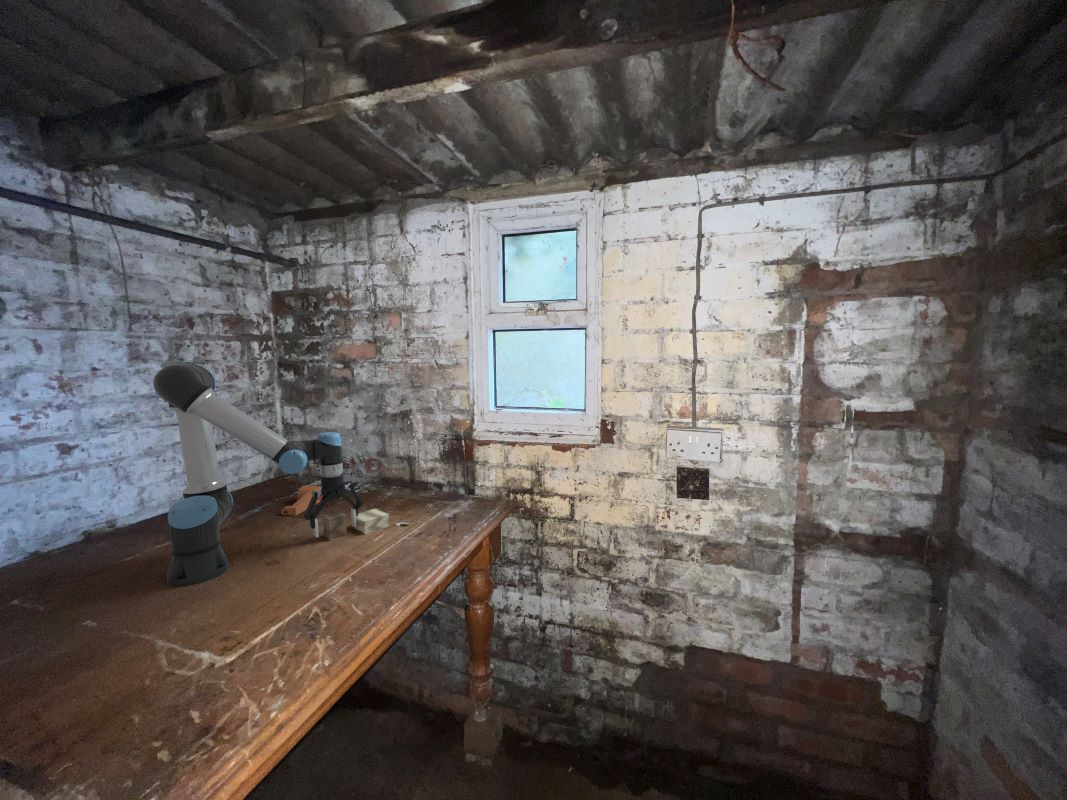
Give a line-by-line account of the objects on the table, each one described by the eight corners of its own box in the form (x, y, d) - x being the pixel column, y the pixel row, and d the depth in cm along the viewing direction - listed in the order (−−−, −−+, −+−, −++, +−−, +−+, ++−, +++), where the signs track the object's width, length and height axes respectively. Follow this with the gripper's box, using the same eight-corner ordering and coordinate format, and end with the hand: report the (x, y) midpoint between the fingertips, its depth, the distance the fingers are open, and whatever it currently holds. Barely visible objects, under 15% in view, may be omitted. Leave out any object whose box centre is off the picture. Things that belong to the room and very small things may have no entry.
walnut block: (330, 540, 155) (328, 519, 154) (324, 536, 159) (322, 515, 158) (346, 535, 159) (345, 515, 158) (340, 531, 163) (339, 510, 162)
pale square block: (365, 534, 160) (364, 521, 160) (352, 527, 167) (351, 515, 166) (389, 526, 168) (388, 514, 167) (376, 520, 174) (375, 508, 174)
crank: (309, 500, 199) (308, 483, 198) (325, 501, 198) (324, 484, 197) (278, 516, 179) (277, 498, 178) (296, 517, 178) (295, 498, 177)
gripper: (297, 484, 145) (302, 544, 147) (369, 469, 162) (373, 523, 165) (291, 480, 150) (295, 538, 153) (361, 466, 168) (364, 518, 170)
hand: (335, 530), depth 159 cm, fingers open, 13 cm apart
